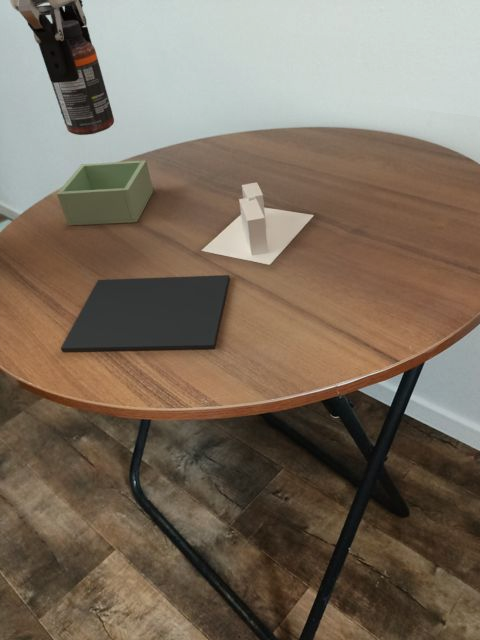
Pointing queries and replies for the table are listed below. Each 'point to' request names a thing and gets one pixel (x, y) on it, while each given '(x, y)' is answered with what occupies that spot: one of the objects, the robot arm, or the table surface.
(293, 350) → the table surface
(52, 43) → the robot arm
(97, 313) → the mat
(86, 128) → the supplement bottle
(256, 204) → the napkin holder
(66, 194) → the bin
